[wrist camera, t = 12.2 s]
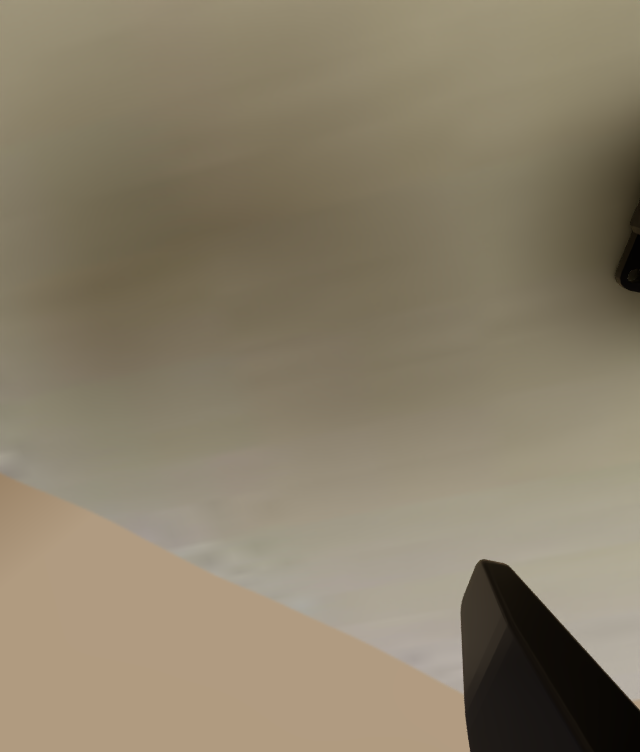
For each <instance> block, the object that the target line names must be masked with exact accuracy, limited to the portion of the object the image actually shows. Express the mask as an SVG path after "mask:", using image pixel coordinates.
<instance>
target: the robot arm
mask: <svg viewBox="0 0 640 752" xmlns="http://www.w3.org/2000/svg"><path fill="white" fill-rule="evenodd" d="M630 225H631V228H632V230H633V232H632V234H631V237H630V239H629V241H628V244H627V246H626V249H625V251H624V253H623V256H622V258H621V260H620V263H619V265H618V268H617V270H616V274H615V278H616V281H617V283H618V284H619V285H620V286H622V287H623V288H625V289H628V290H630V291H635V292H640V200H639V203H638V205H637V207H636V210H635V212H634V215H633V217H632V219H631V222H630ZM634 269H638V271H639V272H638V276H637V277H636V278H635V279H633V280H632V281H629V280H628V274H629V273H630V271H632V270H634ZM461 634H462V658H463V681H464V703H465V717H466V725H467V732H468V740H469V747H470V752H640V710H639V709H638V708H637V706H636V705H635V704H634V703H633V702H632V701H631V700H630V699H629V698H628V696H627V695H626V694H625V693H624V692H623V691H622V690H621V689H620V688H619V687H618V685H617V684H616V683H615V682H614V681H613V680H612V679H611V678H610V677H609V675H608V674H607V673H606V672H605V671H604V670H603V669H602V668H601V667H600V666H599V664H598V663H597V662H596V661H595V660H594V659H593V658H592V657H591V656H590V655H589V653H588V652H587V651H586V650H585V649H584V648H583V647H582V646H581V645H580V643H579V642H578V641H577V640H576V639H575V638H574V637H573V636H572V635H571V634H570V632H569V631H568V630H567V629H566V628H565V627H564V626H563V625H562V624H561V623H560V621H559V620H558V619H557V618H556V617H555V616H554V615H553V614H552V613H551V612H550V610H549V609H548V608H547V607H546V606H545V605H544V604H543V603H542V602H541V600H540V599H539V598H538V597H537V596H536V595H535V594H534V593H533V592H532V591H531V589H530V588H529V587H528V586H527V585H526V584H525V583H524V582H523V581H522V580H521V578H520V577H519V576H518V575H517V574H516V573H515V572H514V571H513V570H512V568H510V567H509V566H508V565H507V564H504V563H500V562H495V561H491V560H486V559H483V560H480V561H479V562H478V563H477V564H476V566H475V569H474V571H473V574H472V576H471V579H470V581H469V584H468V586H467V589H466V591H465V593H464V596H463V599H462V604H461Z"/></svg>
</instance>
